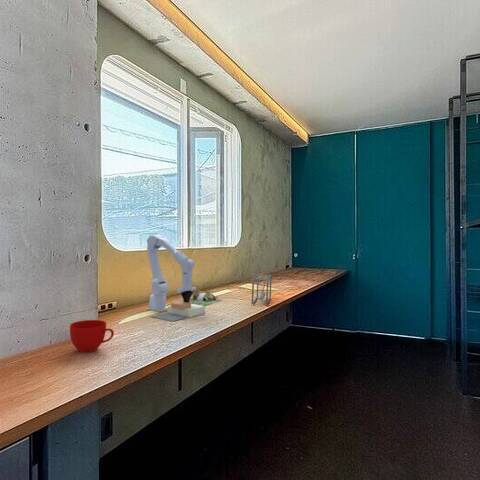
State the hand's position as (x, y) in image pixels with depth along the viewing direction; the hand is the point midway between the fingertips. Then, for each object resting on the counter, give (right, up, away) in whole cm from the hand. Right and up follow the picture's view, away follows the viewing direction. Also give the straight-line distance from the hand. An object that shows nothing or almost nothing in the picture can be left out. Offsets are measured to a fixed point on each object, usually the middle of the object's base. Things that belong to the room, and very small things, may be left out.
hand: (186, 304), depth 210 cm
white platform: (0, -5, 0) cm, 5 cm away
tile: (-2, 0, -4) cm, 5 cm away
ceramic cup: (-26, -6, -69) cm, 74 cm away
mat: (-7, -5, -11) cm, 14 cm away
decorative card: (+4, -5, +36) cm, 37 cm away
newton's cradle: (+45, -6, +43) cm, 63 cm away
